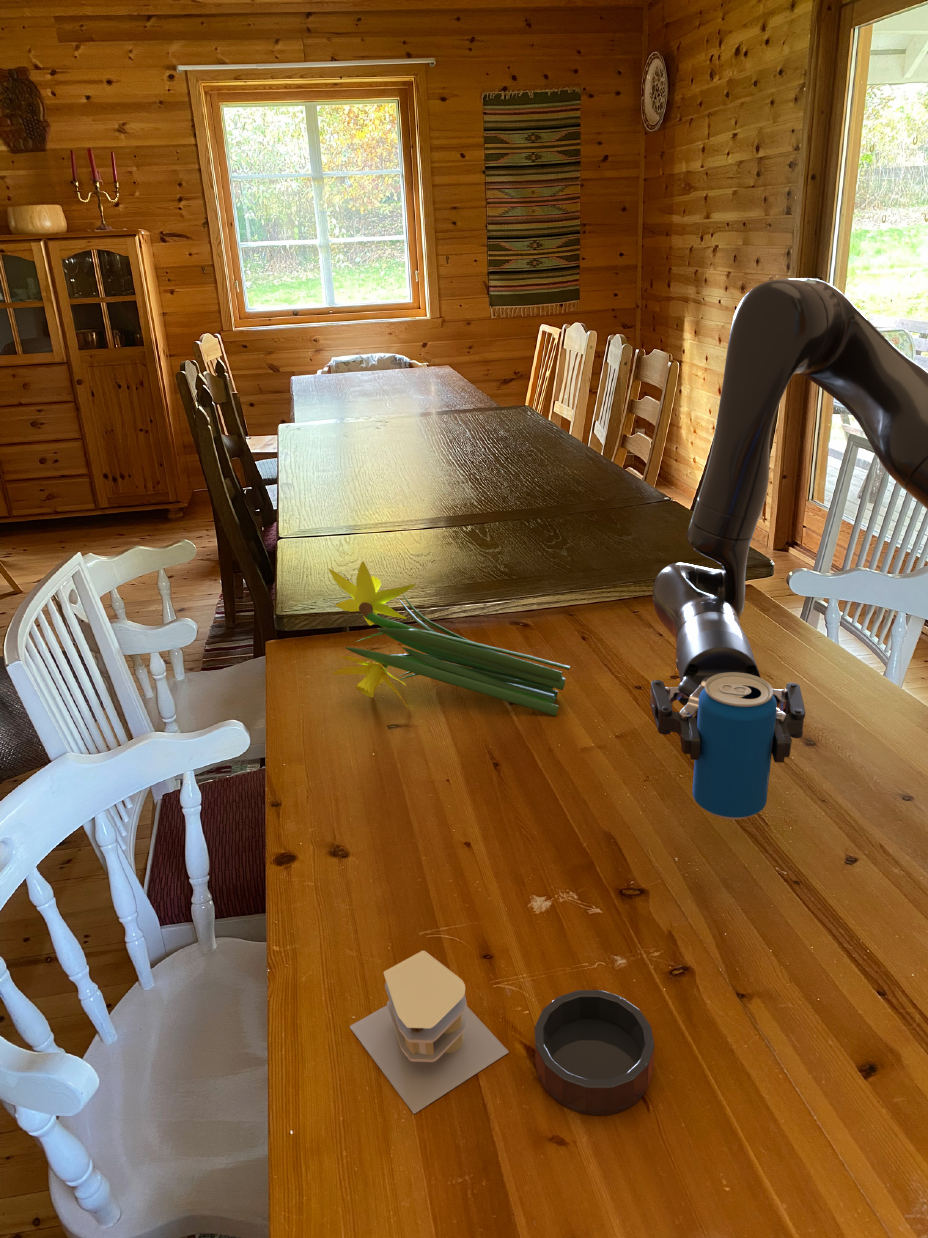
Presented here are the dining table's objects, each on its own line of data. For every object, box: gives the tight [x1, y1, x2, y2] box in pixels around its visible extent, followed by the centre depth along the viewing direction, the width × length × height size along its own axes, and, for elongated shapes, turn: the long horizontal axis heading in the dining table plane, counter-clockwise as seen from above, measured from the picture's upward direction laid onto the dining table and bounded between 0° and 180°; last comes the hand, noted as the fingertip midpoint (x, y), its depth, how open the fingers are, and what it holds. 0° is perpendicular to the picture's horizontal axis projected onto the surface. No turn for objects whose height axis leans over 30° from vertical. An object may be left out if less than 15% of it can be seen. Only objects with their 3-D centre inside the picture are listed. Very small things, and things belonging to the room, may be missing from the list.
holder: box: [534, 989, 656, 1117], centre depth 71 cm, size 9×9×3 cm
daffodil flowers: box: [327, 561, 571, 717], centre depth 122 cm, size 17×15×35 cm
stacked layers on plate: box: [349, 950, 510, 1115], centre depth 73 cm, size 10×9×6 cm
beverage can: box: [691, 672, 778, 821], centre depth 81 cm, size 6×6×12 cm
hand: (738, 752), depth 78 cm, fingers closed on beverage can, 6 cm apart
